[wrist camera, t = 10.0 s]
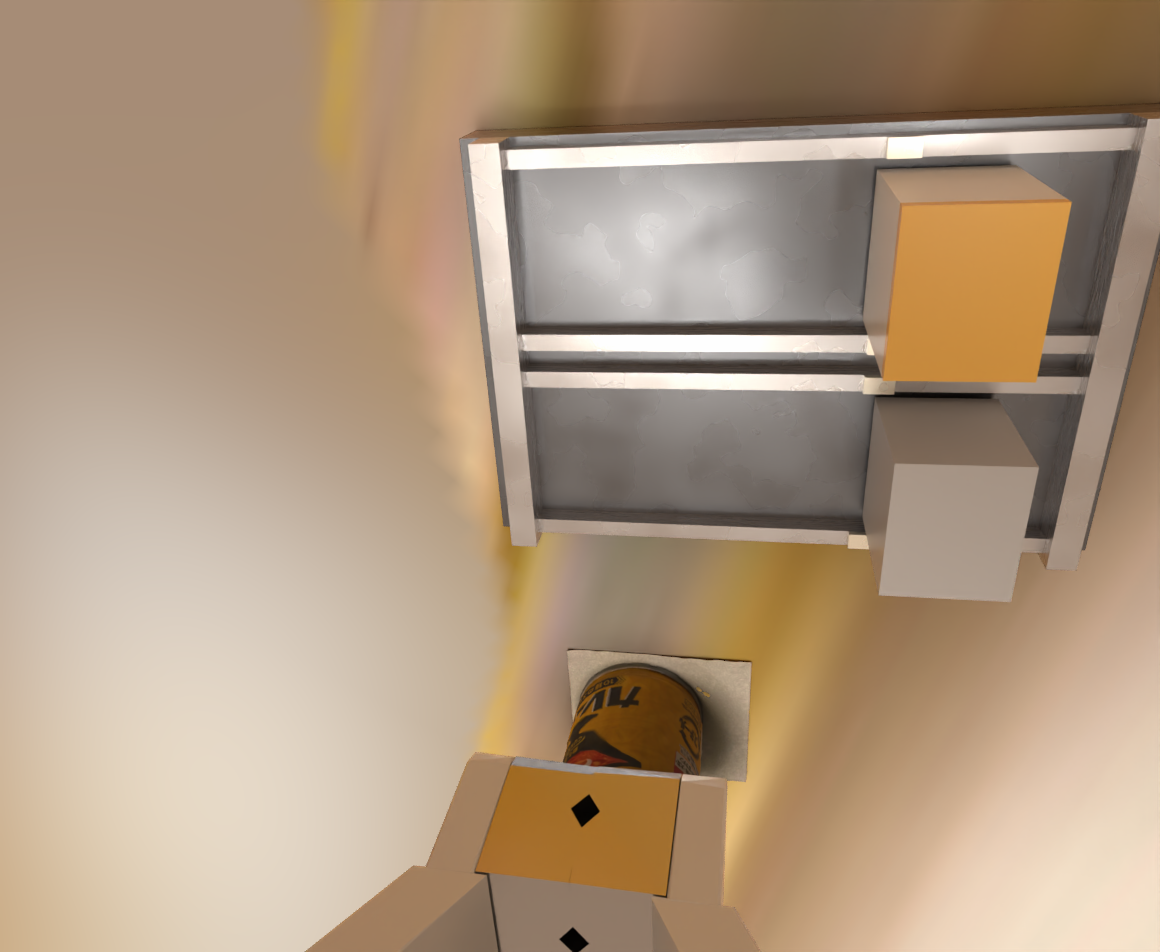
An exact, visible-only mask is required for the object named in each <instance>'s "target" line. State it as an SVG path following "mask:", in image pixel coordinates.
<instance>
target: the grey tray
mask: <svg viewBox="0 0 1160 952" xmlns="http://www.w3.org/2000/svg"><path fill="white" fill-rule="evenodd" d="M459 140H460V149H461V158H462V167H463V175H464V184H465V193H466V202H467V211H468V219H469V228H470V237H471V246H472V254H473V263H474V272H475V281H476V289H477V298H478V307H479V316H480V324H481V333H482V342H483V351H484V359H485V368H486V377H487V386H488V394H489V403H490V412H491V421H492V429H493V438H494V447H495V456H496V464H497V473H498V482H499V491H500V499H501V508H502V517H503V526H510V531H511V540H512V545H514V546H536V547H537V545H538V542H539V540H540V537H541V534H542V532H551V533H575V534H599V535H623V536H647V537H671V538H694V539H718V540H742V541H766V542H790V543H814V544H837V545H847V546H848V548H850V549H869V546H868V541H867V536H866V531H865V527H864V522H863V517H862V515H863V506H864V496H865V487H866V478H867V468H868V459H869V449H870V440H871V431H872V421H873V412H874V403H875V397H893V398H966V399H998V400H999V401H1000V403H1001V405H1002V406H1003V408H1004V410H1005V411H1006V413H1007V415H1008V416H1009V418H1010V420H1011V421H1012V423H1013V425H1014V426H1015V428H1016V430H1017V431H1018V433H1019V435H1020V436H1021V438H1022V440H1023V441H1024V443H1025V445H1026V446H1027V448H1028V450H1029V451H1030V453H1031V455H1032V456H1033V458H1034V460H1035V461H1036V463H1037V465H1038V466H1039V470H1038V475H1037V480H1036V484H1035V489H1034V494H1033V499H1032V504H1031V508H1030V513H1029V518H1028V523H1027V527H1026V532H1025V537H1024V542H1023V547H1022V551H1021V552H1028V553H1038V555H1039V557H1040V559H1041V561H1042V562H1043V564H1044V566H1045V568H1046V569H1048V570H1070V571H1076V570H1077V566H1078V562H1079V558H1080V554H1081V550H1085V548H1086V544H1087V540H1088V536H1089V532H1090V528H1091V524H1092V520H1093V516H1094V512H1095V508H1096V504H1097V500H1098V496H1099V492H1100V488H1101V484H1102V480H1103V476H1104V472H1105V468H1106V464H1107V460H1108V456H1109V452H1110V448H1111V444H1112V440H1113V436H1114V432H1115V428H1116V424H1117V420H1118V416H1119V412H1120V408H1121V404H1122V400H1123V396H1124V392H1125V388H1126V383H1127V379H1128V375H1129V371H1130V367H1131V363H1132V359H1133V355H1134V351H1135V347H1136V343H1137V339H1138V335H1139V331H1140V327H1141V323H1142V319H1143V315H1144V311H1145V307H1146V303H1147V299H1148V295H1149V291H1150V287H1151V283H1152V279H1153V275H1154V271H1155V267H1156V263H1157V259H1158V255H1159V251H1160V103H1155V104H1130V105H1105V106H1080V107H1055V108H1030V109H1005V110H980V111H955V112H930V113H905V114H880V115H855V116H830V117H805V118H780V119H755V120H730V121H705V122H680V123H655V124H630V125H605V126H580V127H555V128H529V129H504V130H479V131H474V132H472V133H470V134H468V135H466V136H464V137H462V138H460V139H459ZM1003 165H1017V166H1018V167H1020V168H1021V169H1023V170H1024V171H1026V172H1027V173H1029V174H1030V175H1032V176H1033V177H1035V178H1036V179H1038V180H1039V181H1041V182H1042V183H1044V184H1045V185H1047V186H1048V187H1050V188H1051V189H1053V190H1054V191H1056V192H1057V193H1059V194H1060V195H1062V196H1063V197H1065V198H1066V199H1068V200H1069V201H1071V202H1072V203H1071V209H1070V214H1069V219H1068V224H1067V229H1066V234H1065V239H1064V244H1063V249H1062V254H1061V259H1060V264H1059V269H1058V274H1057V279H1056V285H1055V290H1054V295H1053V300H1052V305H1051V310H1050V315H1049V320H1048V325H1047V330H1046V335H1045V340H1044V345H1043V350H1042V356H1041V361H1040V366H1039V371H1038V376H1037V381H1036V383H1031V382H936V381H883V379H882V376H881V373H880V370H879V367H878V364H877V361H876V358H875V355H874V352H873V349H872V346H871V343H870V340H869V337H868V334H867V331H866V328H865V325H864V322H863V311H864V301H865V290H866V280H867V269H868V259H869V249H870V238H871V228H872V217H873V207H874V196H875V186H876V175H877V169H902V168H936V167H969V166H1003Z"/></svg>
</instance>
